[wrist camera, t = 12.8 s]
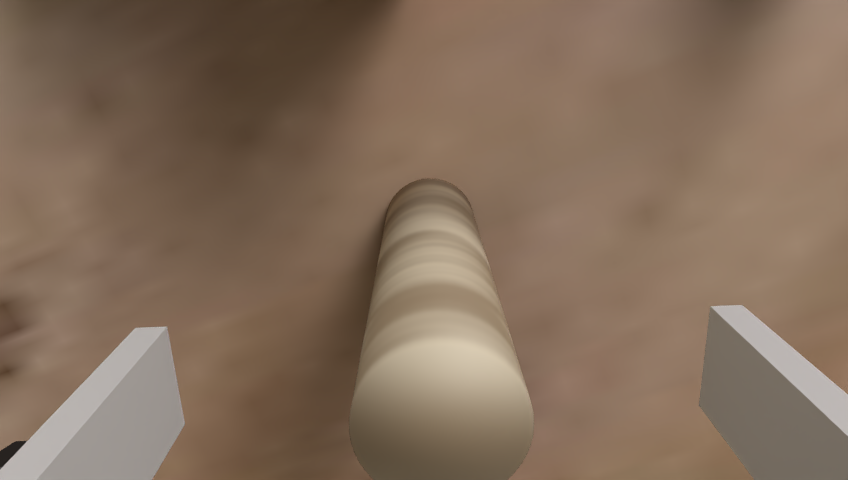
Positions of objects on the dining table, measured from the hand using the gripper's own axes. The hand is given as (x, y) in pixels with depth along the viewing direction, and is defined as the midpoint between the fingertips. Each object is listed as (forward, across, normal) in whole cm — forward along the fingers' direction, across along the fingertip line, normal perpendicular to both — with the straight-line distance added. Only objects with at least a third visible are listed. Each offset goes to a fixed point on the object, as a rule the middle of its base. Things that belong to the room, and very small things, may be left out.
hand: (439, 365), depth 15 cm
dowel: (+14, 0, 0) cm, 14 cm away
